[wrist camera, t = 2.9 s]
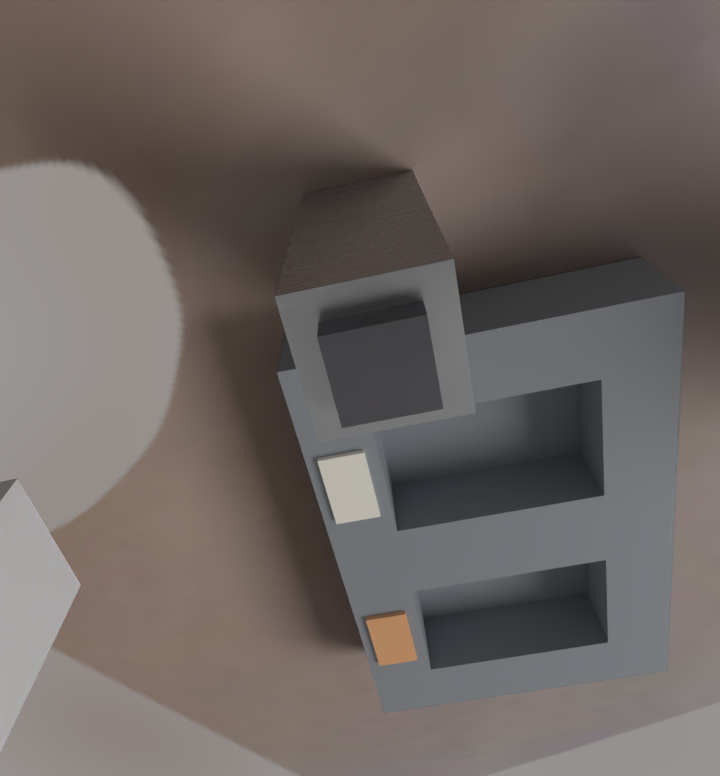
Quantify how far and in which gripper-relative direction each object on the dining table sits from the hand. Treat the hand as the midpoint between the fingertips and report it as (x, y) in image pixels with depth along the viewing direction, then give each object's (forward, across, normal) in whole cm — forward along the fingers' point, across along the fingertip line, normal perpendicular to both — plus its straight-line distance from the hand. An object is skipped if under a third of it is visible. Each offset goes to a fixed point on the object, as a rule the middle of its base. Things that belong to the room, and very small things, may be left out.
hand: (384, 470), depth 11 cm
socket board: (+14, +3, -13) cm, 19 cm away
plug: (+14, 0, 0) cm, 14 cm away
